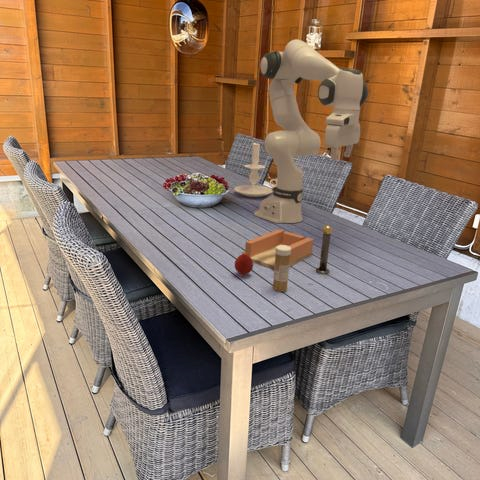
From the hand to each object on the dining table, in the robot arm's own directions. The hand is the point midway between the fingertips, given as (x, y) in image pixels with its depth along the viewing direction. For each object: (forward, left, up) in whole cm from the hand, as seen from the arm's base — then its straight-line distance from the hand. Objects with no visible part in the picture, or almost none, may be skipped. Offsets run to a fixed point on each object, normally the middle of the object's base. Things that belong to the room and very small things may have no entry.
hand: (340, 158), depth 163 cm
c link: (-8, -23, -32) cm, 41 cm away
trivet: (-9, -23, -34) cm, 42 cm away
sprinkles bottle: (+6, -44, -34) cm, 56 cm away
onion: (-8, -44, -34) cm, 56 cm away
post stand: (+9, -23, -34) cm, 42 cm away
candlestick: (-67, +44, -34) cm, 87 cm away
